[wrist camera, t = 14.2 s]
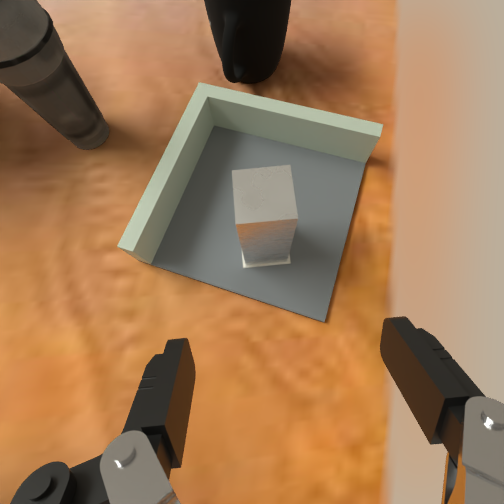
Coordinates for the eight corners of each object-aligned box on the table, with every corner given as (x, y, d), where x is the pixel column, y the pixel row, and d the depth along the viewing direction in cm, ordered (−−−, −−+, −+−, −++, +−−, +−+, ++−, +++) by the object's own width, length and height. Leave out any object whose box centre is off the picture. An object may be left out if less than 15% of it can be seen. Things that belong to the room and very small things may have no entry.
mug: (229, 33, 38) (216, -71, 29) (294, 45, 37) (304, -60, 27) (197, 103, 35) (172, 11, 25) (269, 118, 34) (270, 28, 24)
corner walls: (323, 322, 26) (334, 318, 22) (139, 260, 29) (117, 246, 25) (367, 154, 32) (383, 124, 27) (207, 115, 34) (199, 82, 30)
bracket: (286, 261, 28) (298, 218, 18) (245, 265, 28) (235, 224, 18) (277, 188, 30) (283, 117, 21) (239, 192, 30) (228, 122, 21)
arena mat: (323, 322, 26) (324, 322, 26) (139, 260, 29) (136, 259, 29) (367, 154, 32) (368, 151, 31) (207, 115, 34) (206, 111, 34)
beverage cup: (75, 104, 36) (-141, -169, 17) (129, 114, 35) (-34, -163, 16) (49, 153, 34) (-233, -96, 15) (106, 164, 33) (-115, -85, 14)
